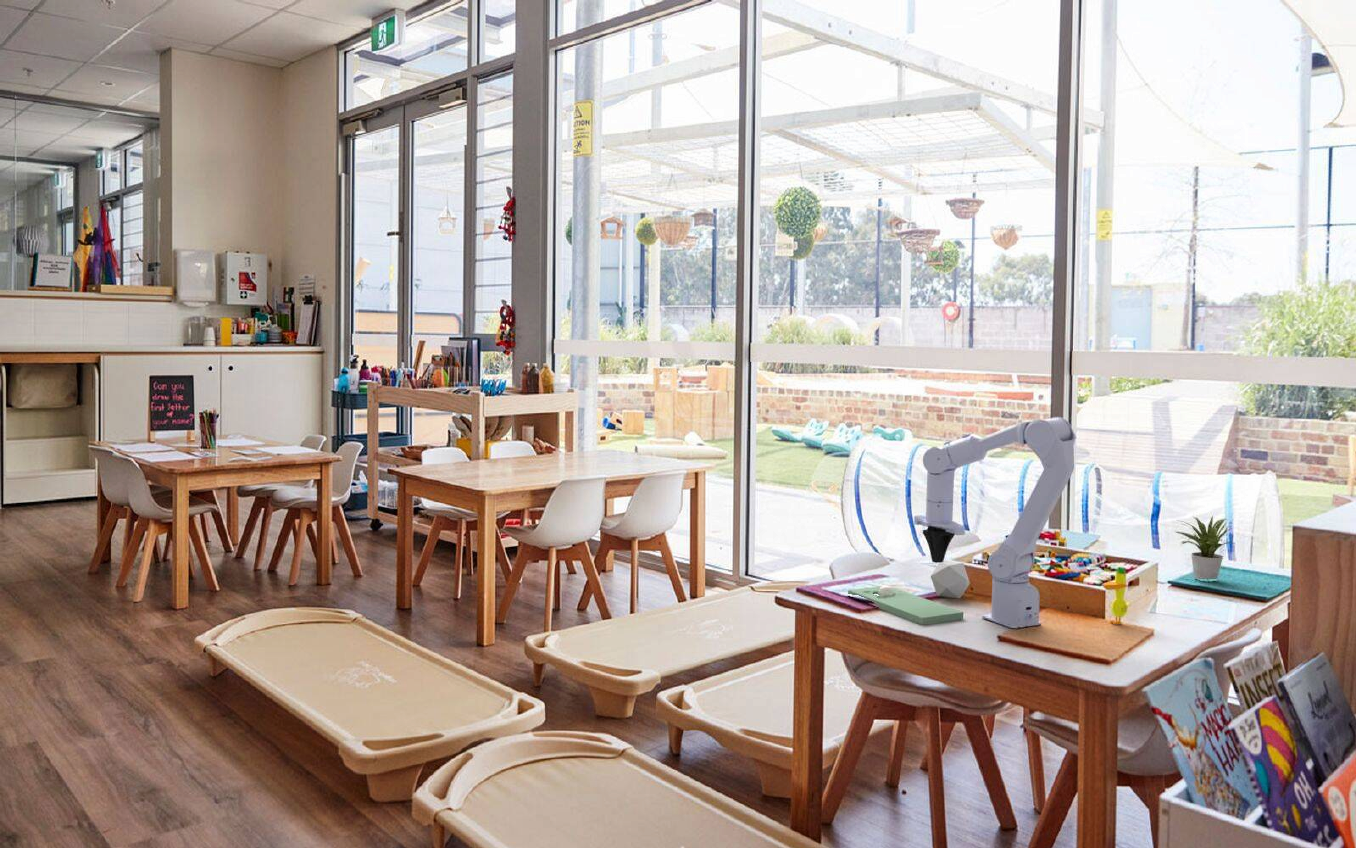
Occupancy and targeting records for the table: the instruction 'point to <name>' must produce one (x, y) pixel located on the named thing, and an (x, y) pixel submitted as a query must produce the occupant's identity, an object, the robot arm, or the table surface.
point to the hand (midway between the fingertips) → (937, 562)
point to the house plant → (1206, 549)
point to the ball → (886, 591)
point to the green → (910, 606)
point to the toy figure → (1118, 594)
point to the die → (950, 579)
